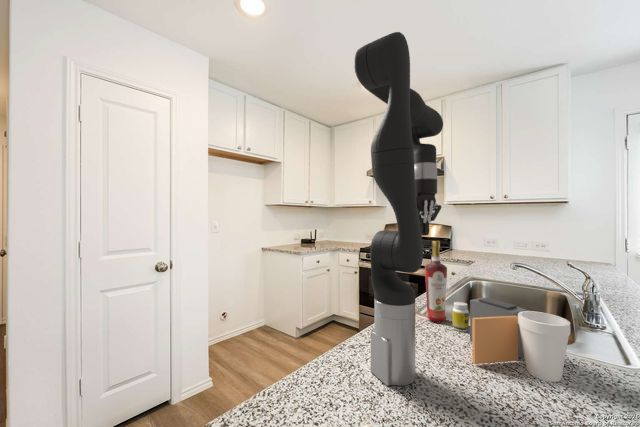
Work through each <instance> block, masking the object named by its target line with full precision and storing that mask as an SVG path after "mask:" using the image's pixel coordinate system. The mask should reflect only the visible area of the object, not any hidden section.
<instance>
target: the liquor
mask: <svg viewBox="0 0 640 427" xmlns="http://www.w3.org/2000/svg"><path fill="white" fill-rule="evenodd" d="M431 248H432V249H431V250H432V251H431V260H430V261H431V262H429V263H427V264H426V265H424V278H425V279H424V280H425V291H426V292H425V293H426V294H425V295H426V297H425V298H426V313H425V317H426V318H427V319H428V320H429V321H430V320H431V321H430V322H432V321H433V323H437V322H440V323H442V322H444V321H446V320H447V316H446V300H447V298H446V296H447V285H448V284H447V283H448V282H447V280H448V279H447V278H448V267H447V266H446V265H445V264H443V263H441V255H440V248H441V241H440V240H431Z"/></svg>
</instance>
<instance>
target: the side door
mask: <svg viewBox="0 0 640 427" xmlns="http://www.w3.org/2000/svg"><path fill="white" fill-rule="evenodd" d="M471 343H472V344H471V345H472V347H471V348H472V350H471V351H472V355H471V356H472V359H471V360H472V361H471V362H472V364H474V365H481V364H483V365H484V364H493V363H495V364H496V363H505V362H518V361H519V358H518V317H517V316H498V317H480V318H472V341H471Z"/></svg>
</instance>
